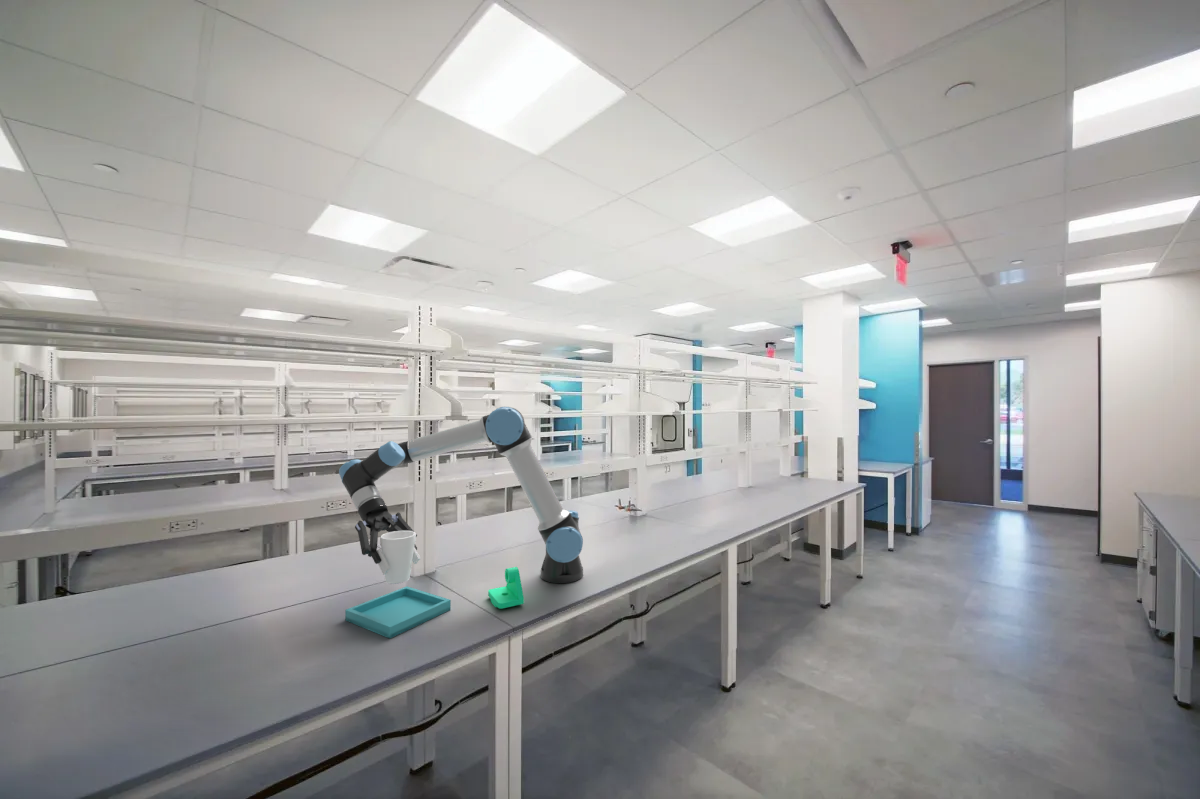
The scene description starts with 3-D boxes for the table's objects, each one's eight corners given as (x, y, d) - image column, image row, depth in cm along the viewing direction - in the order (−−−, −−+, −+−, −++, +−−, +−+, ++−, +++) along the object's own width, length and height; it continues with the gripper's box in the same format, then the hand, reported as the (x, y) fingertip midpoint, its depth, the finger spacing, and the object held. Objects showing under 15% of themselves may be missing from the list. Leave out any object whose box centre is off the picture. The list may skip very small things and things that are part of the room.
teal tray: (406, 595, 149) (406, 586, 149) (450, 609, 138) (450, 599, 138) (345, 620, 131) (345, 609, 132) (390, 638, 121) (390, 627, 121)
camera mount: (487, 598, 148) (487, 565, 148) (510, 593, 151) (510, 561, 151) (499, 612, 137) (499, 577, 137) (523, 607, 141) (523, 573, 141)
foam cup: (405, 571, 142) (405, 528, 142) (421, 579, 136) (422, 534, 136) (373, 580, 134) (374, 535, 135) (389, 588, 128) (390, 541, 129)
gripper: (396, 505, 153) (428, 562, 145) (328, 519, 134) (360, 586, 126) (407, 491, 150) (440, 548, 142) (339, 503, 132) (372, 570, 123)
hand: (402, 566), depth 134 cm, fingers closed on foam cup, 9 cm apart
